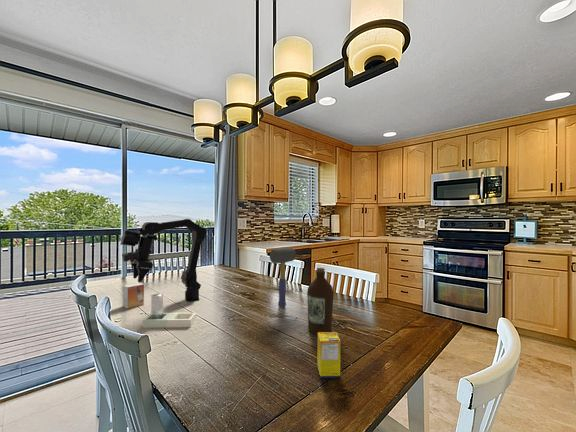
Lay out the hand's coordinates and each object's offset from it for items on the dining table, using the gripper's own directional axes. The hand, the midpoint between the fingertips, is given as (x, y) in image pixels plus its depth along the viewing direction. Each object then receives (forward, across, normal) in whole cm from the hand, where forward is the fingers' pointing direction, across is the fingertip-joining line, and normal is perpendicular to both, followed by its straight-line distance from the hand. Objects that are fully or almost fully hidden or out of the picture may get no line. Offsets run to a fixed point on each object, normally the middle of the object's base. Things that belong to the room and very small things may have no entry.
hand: (136, 280), depth 130 cm
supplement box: (+8, +92, +34) cm, 99 cm away
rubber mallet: (+2, +40, +58) cm, 71 cm away
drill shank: (+13, +23, +6) cm, 27 cm away
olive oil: (+3, +70, +54) cm, 88 cm away
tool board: (+12, +26, +10) cm, 30 cm away
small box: (+14, -8, +3) cm, 17 cm away
